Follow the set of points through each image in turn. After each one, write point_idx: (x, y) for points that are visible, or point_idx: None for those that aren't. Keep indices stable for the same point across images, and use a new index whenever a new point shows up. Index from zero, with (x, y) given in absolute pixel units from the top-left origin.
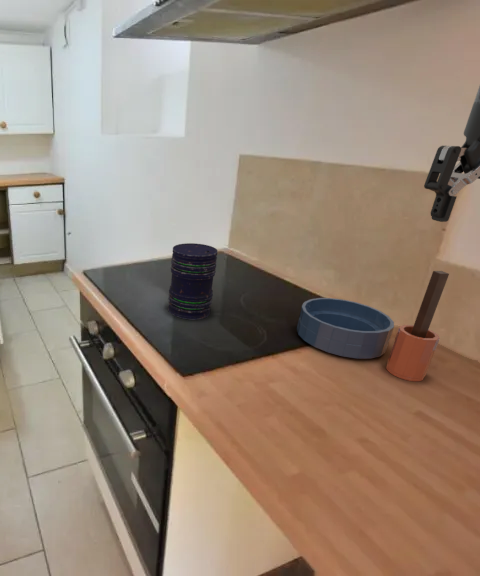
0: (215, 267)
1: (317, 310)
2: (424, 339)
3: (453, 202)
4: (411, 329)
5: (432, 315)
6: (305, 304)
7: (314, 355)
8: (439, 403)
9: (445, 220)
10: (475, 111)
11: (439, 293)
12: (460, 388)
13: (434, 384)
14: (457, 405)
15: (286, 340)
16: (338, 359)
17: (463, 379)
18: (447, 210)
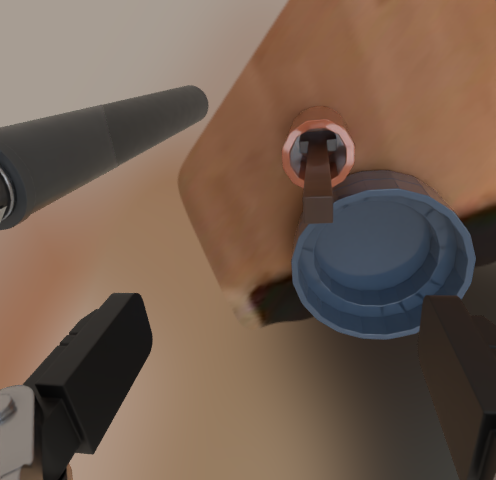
0: None
1: (383, 317)
2: (332, 121)
3: (474, 374)
4: None
5: (310, 158)
6: None
7: (459, 186)
8: (323, 35)
9: (444, 295)
10: None
11: (312, 176)
12: (250, 91)
13: (288, 100)
14: (293, 32)
15: (482, 239)
16: (418, 174)
17: (225, 121)
18: (479, 333)
